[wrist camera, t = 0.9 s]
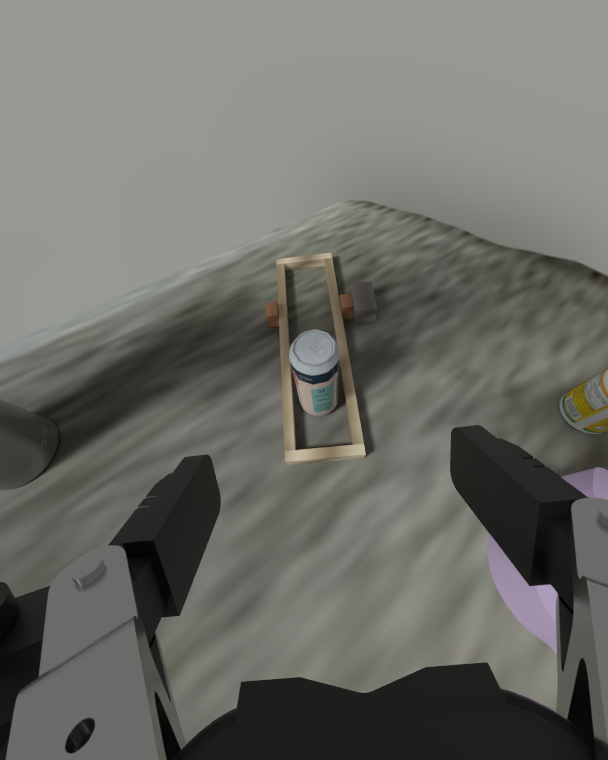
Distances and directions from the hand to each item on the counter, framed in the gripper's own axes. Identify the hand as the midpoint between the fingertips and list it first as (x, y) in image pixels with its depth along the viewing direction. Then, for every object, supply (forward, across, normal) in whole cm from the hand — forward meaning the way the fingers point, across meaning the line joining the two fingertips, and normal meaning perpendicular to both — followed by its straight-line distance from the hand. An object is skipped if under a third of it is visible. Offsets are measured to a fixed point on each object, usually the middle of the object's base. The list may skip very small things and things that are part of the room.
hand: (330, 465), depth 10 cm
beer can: (+27, 0, +8) cm, 28 cm away
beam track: (+32, -2, +2) cm, 32 cm away
